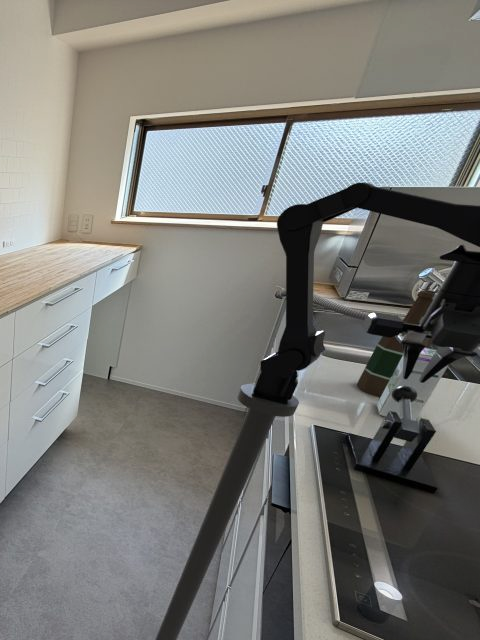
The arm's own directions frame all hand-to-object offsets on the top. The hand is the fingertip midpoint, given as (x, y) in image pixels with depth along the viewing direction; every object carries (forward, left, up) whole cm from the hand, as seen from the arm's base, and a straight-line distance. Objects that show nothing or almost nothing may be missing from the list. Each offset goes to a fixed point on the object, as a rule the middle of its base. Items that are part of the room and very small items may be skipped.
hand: (412, 380), depth 73 cm
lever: (0, -4, -6) cm, 7 cm away
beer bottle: (+4, +29, -13) cm, 33 cm away
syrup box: (+5, +16, -13) cm, 22 cm away
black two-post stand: (0, -9, -13) cm, 16 cm away
